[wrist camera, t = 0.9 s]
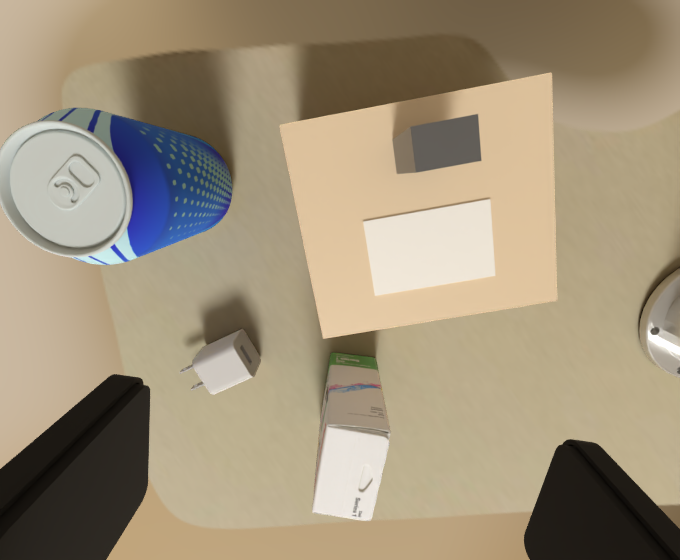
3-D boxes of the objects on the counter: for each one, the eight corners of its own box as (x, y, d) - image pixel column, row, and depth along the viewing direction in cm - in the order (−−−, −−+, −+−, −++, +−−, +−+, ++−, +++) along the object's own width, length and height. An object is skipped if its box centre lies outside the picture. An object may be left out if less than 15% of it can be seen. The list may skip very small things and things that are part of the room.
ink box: (330, 350, 38) (325, 424, 27) (377, 357, 38) (393, 433, 27) (318, 421, 40) (309, 517, 29) (363, 427, 40) (372, 525, 29)
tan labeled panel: (544, 76, 22) (630, 33, 16) (550, 297, 26) (622, 337, 19) (281, 126, 23) (257, 106, 16) (323, 334, 27) (317, 385, 20)
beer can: (241, 230, 35) (161, 272, 19) (151, 233, 35) (1, 277, 19) (231, 133, 32) (131, 94, 17) (135, 137, 33) (-50, 102, 17)
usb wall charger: (261, 359, 38) (253, 379, 34) (204, 385, 39) (189, 408, 35) (242, 326, 37) (231, 344, 34) (183, 354, 38) (166, 374, 34)
